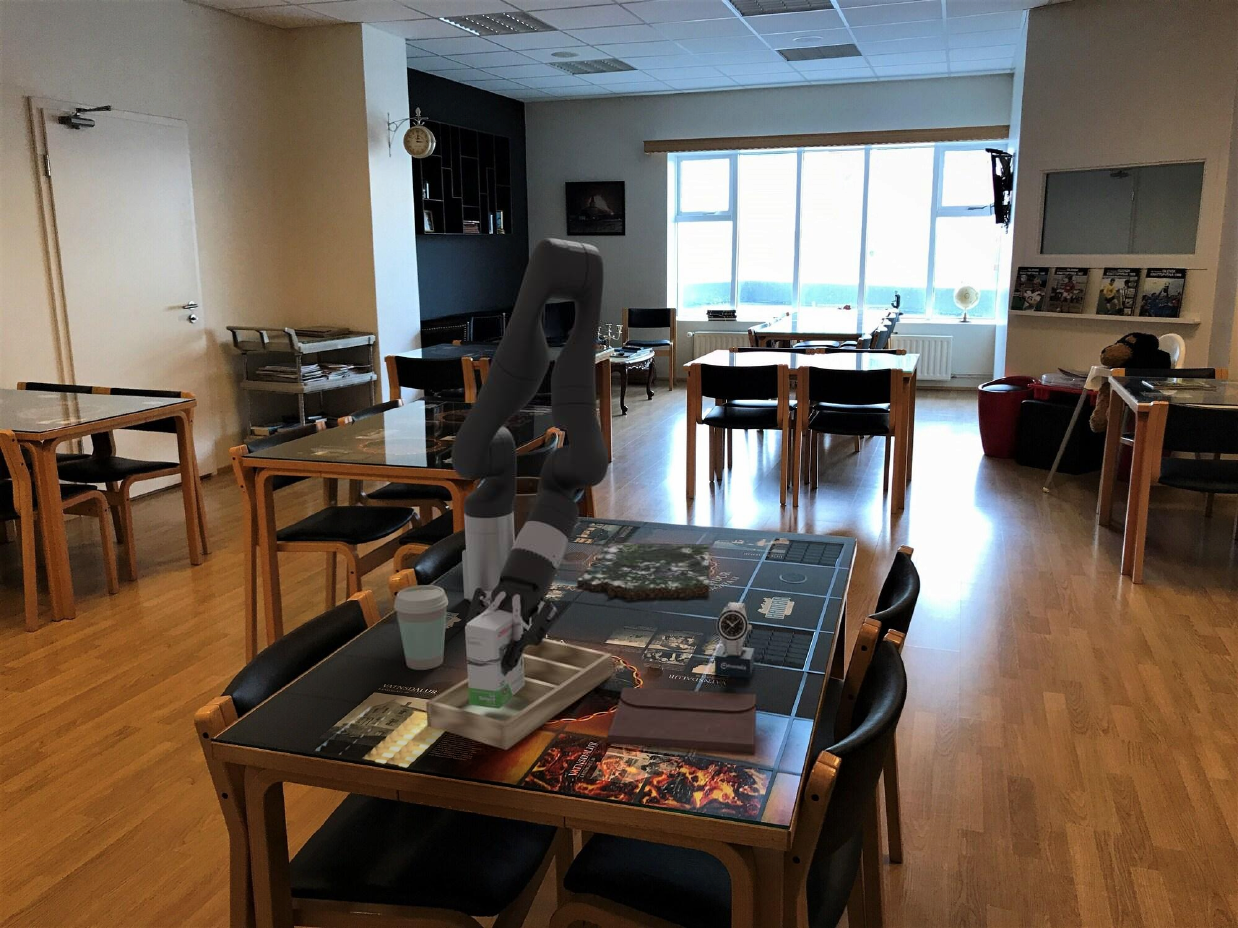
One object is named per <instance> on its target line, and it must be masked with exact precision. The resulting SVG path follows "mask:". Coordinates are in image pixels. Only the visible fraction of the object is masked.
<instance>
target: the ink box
mask: <svg viewBox="0 0 1238 928" xmlns="http://www.w3.org/2000/svg"><path fill="white" fill-rule="evenodd" d="M512 620H513V613H509V612H505V611H502V610H495V611H492V610H486V611H485V612H483V613H482V614H480V615H478V616H477V617H476V618H474V619H473V620H471V621H470V622H468V623H467V625H465V626H464V633H465V651H466V653H467V657H466V664H467V666H466V667H467V668H466V669H467V678H468V687H469V705H475V706H482V707H489V708H497V709H499V708H501V707H502V706H503V705H504V704H505V703H506V702H507V701H508V700H509V699H510V698H511V697H512V696H513V695H514V694H515V693H517V692H518V691H519V690H520V689H521V688H522V687H523V686H524V685H525V682H524V660H523V653H522V655H521V657H520V660H519V662H518V664H517V666H516V667H515V668H513V670H512V671H508V670H505V669H504V668H503V667H502V666H501V662H502V660H503V657H504V655H505V653H506V650H507V648H508V646H509V644H510V641H514V638H513V637H514V626H513V623H512ZM466 653H465V654H466Z"/></svg>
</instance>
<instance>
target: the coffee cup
mask: <svg viewBox="0 0 1238 928" xmlns="http://www.w3.org/2000/svg"><path fill="white" fill-rule="evenodd" d="M448 604H449V600H448V597H447V595H446V593H445V590H444V589H443V588H442V587H440V586H437V585H429V584H427V585H426V584H425V585H424V584H423V585H422V584H420V585H414V586H413V585H412V586H409V587H405V588H403V589H401V590H399V591H398V592H397V594H396V597H395V600H394V605H393V608H394V609H395V611H396V615H397V619H398V625H399V632H400V636H401V641H402V642H401V643H402V647H403V652H404V657H405V662H406V666H407V667H408V668H409V669H412V670H416V671H426V670H431V669H435V668H438V667H439V666H441V665H442V664H443V662H444V653H445V652H444V650H445V636H446V635H445V633H446V620H447V619H446V618H447V606H448Z"/></svg>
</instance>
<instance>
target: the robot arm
mask: <svg viewBox="0 0 1238 928" xmlns="http://www.w3.org/2000/svg"><path fill="white" fill-rule="evenodd" d="M604 275H605V273H604V261H603V256H602V254H601V251H599V249H598V248H597V247H596V246H594V245H592V244H588V243H583V242H578V241H571V240H565V239H560V238H551V237H546V238H544V239H542V240H540V241H539V242H538V243H537V244H536V246H535V247H534V249H533V251H532V253H531V256H530V258H529V260H528V263H527V266H526V269H525V272H524V276H523V280H522V283H521V286H520V290H519V292H518V296H517V299H516V302H515V305H514V308H513V311H512V314H511V317H510V319H509V321H508V324H507V326H506V329H505V332H504V333H503V335H502V338H501V341H500V342H499V345H498V347H497V349H496V351H495V352H494V355H493V358H492V361H491V362H490V364H489V365H490V366H489V368H488V372H487V374H486V377H485V378H484V379H485V380H484V381H483V383H482V385H481V388H480V390H479V392H478V393H477V397H476V399H475V401H474V403H473V405H472V407H471V408H470V411H469V413H468V414H467V416H466V418H465V419H464V421H463V422H462V424H461V426H460V428H459V430H458V431H457V433H456V436H455V438H454V440H453V442H452V447H451V465H452V468H453V470H454V472H455V474H456V475H457V476H458V477H460V478H462V479H464V480H474V481H475V480H481V479H483V481H482V483H481V484H480V485H479V486H478V487H477V488H476V489H475V490H474V491H472V492H471V493H469V494H468V495H467V496H466V497H465V498H464V500H463V513H464V514H463V515H464V534H465V536H464V537H465V549H464V550H462V552H461V554H462V555H461V556H462V557H461V561H462V575H463V576H462V580H463V596H464V597H463V598H464V599H465V600H468V601H469V603H470V606H469V608H468V609H469V610H468V613H467V616H466V619H465V621H464V622H465V626H467V623H468V622H470V621H471V620H473V619H474V618H476V617H477V616H478V615H480V614H482V613H483V612H485V611H486V610H492V611H495V610H502V611H505V612H509V613H513V620H512V623H513V626H514V637H513V638H514V641H510V644H509V646H508V648H507V650H506V653H505V655H504V657H503V660H502V662H501V666H502V667H503V668H504V669H505V670H508V671H512V670H513V668H515V667H516V666H517V664H518V662H519V660H520V657H521V655H522V653H523V650H524V648H526V647H527V646H529V645H534V646H538V645H540V643H541V642H542V640H543V638H545V637H546V635H547V633H548V631H549V630H550V628H551V626H552V625H553V624H554V621H555V620H556V618H557V617H558V615H559V611H558V609H557V608H556V606H554V604H553V603H552V602H550V601H547V602H546V601H545V602H544V600H545V599H544V598H545V597H547V596H548V594H549V591H550V590H551V587H552V586H553V585H552V584H553V582H554V580H555V578H556V576H557V573H558V570H559V568H560V566H561V563H562V561H563V559H564V556H565V554H566V549H567V546H568V543H569V541H570V539H571V536H572V534H573V531H574V528H575V526H576V524H577V522H578V519H579V516H580V507H579V505H578V504H577V503H576V501H575V500H573V497H574V494H575V492H576V491H577V490H580V489H587V488H592V487H595V486H597V485H599V484H600V483H602V482H603V480H604V479H605V477H606V475H607V473H608V469H609V453H608V449H607V446H606V445H607V444H606V442H605V438H604V435H603V432H602V428H601V425H600V422H599V420H598V419H599V418H598V416H597V390H596V388H597V387H596V386H597V385H596V356H597V346H598V340H599V339H598V338H599V330H600V321H601V311H602V301H603V299H602V298H603V290H604ZM550 299H557V300H562V301H563V300H564V301H565V300H566V301H570V302H571V301H572V302H574V305H575V306H574V308H575V309H574V310H575V314H574V315H575V316H574V317H575V319H574V324H573V327H572V330H571V332H570V334H569V336H568V338H567V340H566V342H565V343H564V345H563V347H562V349H561V351H560V352H559V355H558V356H557V359H556V360H555V362H554V365H553V368H552V372H551V377H550V400H551V403H550V404H551V419H552V424H553V425H554V426H555V427H556V428H557V429H560V430H562V431H566V435H567V437H568V442H569V443H568V445H567V444H566V445H564V446H559V447H557V448H555V449H554V450H552V451H551V453H549V455H548V456H547V457H546V458H545V460H544V462H543V465H542V466H541V470H540V474H539V478H540V479H539V484H538V489H537V497H536V502H535V504H534V505H533V507H532V509H531V512H530V514H529V516H528V518H527V520H526V523H525V525H524V526H523V528H522V530H521V531H520V533H519V534H518V536H517V538H516V540H515V535H514V509H513V504H514V500H515V497H516V477H517V467H518V466H517V462H518V461H517V459H518V458H517V448H516V447H517V446H516V442H515V440H514V436H513V435H512V433H511V431H509V429H508V428H507V427H505V426H504V425H505V424H507V422H508V421H510V420H511V419H512V418H513V417H515V416H516V414H518V413H519V412H520V411H521V410H522V409H523V408H524V407H525V406H527V404H529V403H530V401H532V399H533V398H534V397H535V395H536V394H537V393H538V391H539V389H540V387H541V385H542V383H543V380H544V378H545V376H546V374H547V371H548V369H549V366H550V363H551V361H550V357H551V356H550V350H549V349H550V348H549V345H548V342H547V341H548V340H547V339H546V336H545V333H544V329H543V324H542V317H543V313H544V310H545V307H546V304H547V303H548V301H549V300H550ZM536 614H537V615H536ZM535 615H536V616H535ZM533 616H535V619H534V620H533V622H532V617H533ZM465 657H466V658H467V653H466V650H465Z"/></svg>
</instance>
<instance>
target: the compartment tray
mask: <svg viewBox="0 0 1238 928" xmlns="http://www.w3.org/2000/svg"><path fill="white" fill-rule="evenodd" d="M612 655H613V654H612V653H608V652H605V651H604V652H603V651H600V650H595V649H591V648H586V647H583V646H578V645H573V644H569V643H566V642H563V641H562V642H561V641H558V640H552V639H548V638H545V637H544V638H543V640H542V642H541V643H540V645H538V646H534V645H529V646H527V647H526V648H524V650H523V660H524V682H525V685H524V686H523V687H522V688H521V689H520V690H519V691H518V692H517V693H515V694H514V695H513V696H512V697H511V698H510V699H509V700H508V701H507V702H506V703H505V704H504V705H503V706H502V707H501V708H499V709H497V708H489V707H482V706H475V705H469V687H468V677H467V678H466V679H464V680H462V681H460V682H459V683H457V684H455V685H454V686H452V687H449V688H448V689H447V690H445V691H443V692H441V693H440V694H438V695H436V696H434V697H432V698H431V699H429V700H428V701H425V707H426V722H427V723H426V724H427V726H428V727H431V728H435V729H439V730H442V731H445V732H447V733H451V734H453V735H457V736H461V737H465V738H466V739H470V740H474V741H477V742H480V743H482V744H485V745H489V746H493V747H496V748H499V749H502V750H505V751H507V750H508V749H510V748H512V747H513V746H514V745H516V744H517V743H518V742H520V741H521V740H522V739H524V738H526V737H527V736H528V735H530V734H531V733H533V732H534V731H535V730H536V729H538V728H539V727H541V726H543V725H544V724H545V723H547V722H548V721H549V720H551V719H552V718H554V717H555V716H557V715H558V714H559V713H561V712H562V711H564V710H565V709H566V708H568V707H569V706H571V705H572V704H573V703H575V702H577V701H578V700H579V699H581V698H582V697H583V696H584V695H586V694H587V693H589V692H590V691H592V690H593V689H594V688H596V687H597V686H599V685H600V684H602V683H603V682H604V681H606V680H608V679H609V678H610V677H612V676H613V658H612V657H613V656H612Z"/></svg>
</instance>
